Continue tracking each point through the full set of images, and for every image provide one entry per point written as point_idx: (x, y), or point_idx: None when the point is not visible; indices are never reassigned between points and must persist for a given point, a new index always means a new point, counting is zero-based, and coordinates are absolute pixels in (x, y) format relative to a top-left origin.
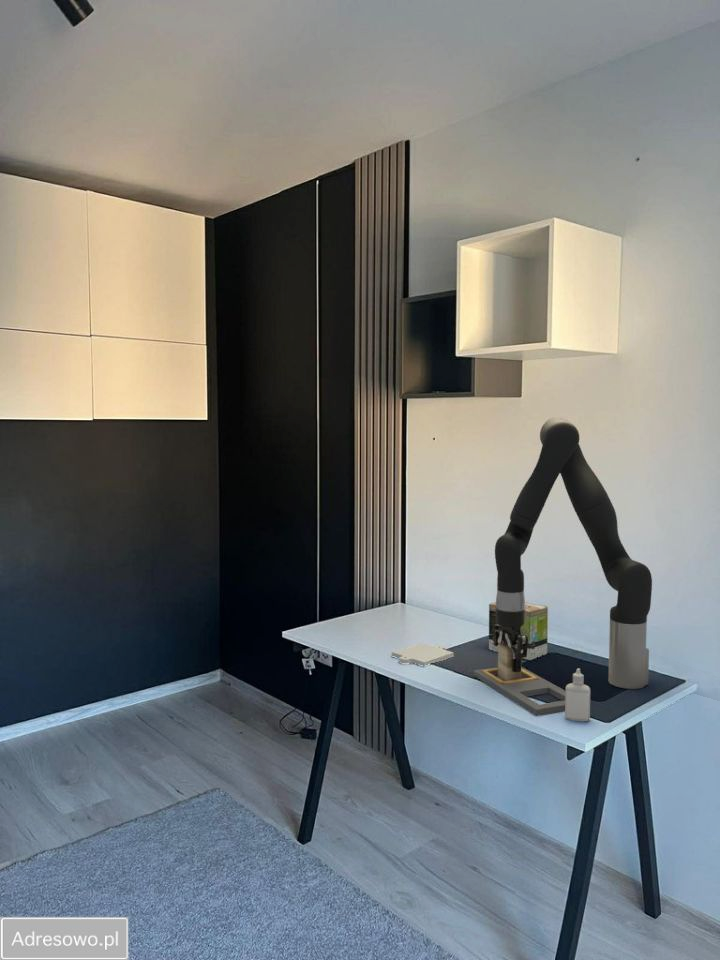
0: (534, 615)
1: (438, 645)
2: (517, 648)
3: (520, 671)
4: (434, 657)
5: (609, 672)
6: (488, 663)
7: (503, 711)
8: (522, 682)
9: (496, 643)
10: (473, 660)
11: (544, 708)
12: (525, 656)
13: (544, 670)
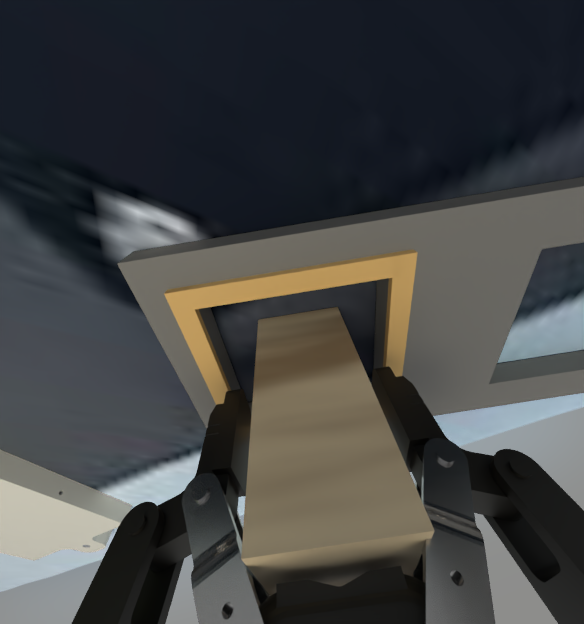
0: None
1: None
2: (547, 591)
3: (353, 346)
4: (63, 507)
5: None
6: (37, 353)
7: (523, 424)
8: (410, 340)
9: (180, 562)
10: (4, 395)
11: None
12: (529, 467)
13: (129, 32)
